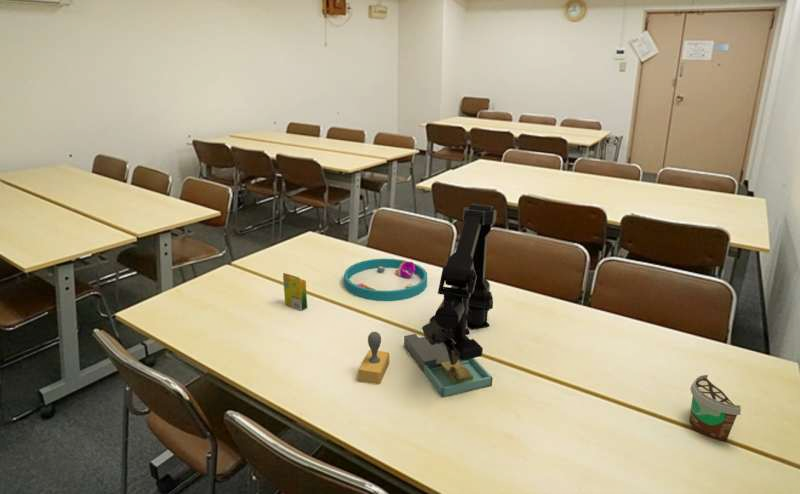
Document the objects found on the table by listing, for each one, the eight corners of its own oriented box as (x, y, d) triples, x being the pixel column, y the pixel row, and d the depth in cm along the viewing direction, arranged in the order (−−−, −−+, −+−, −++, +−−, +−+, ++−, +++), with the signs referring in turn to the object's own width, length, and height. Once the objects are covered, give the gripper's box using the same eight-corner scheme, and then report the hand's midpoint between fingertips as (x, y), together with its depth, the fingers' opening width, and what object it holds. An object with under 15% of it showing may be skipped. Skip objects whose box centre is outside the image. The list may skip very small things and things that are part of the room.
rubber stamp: (380, 385, 133) (380, 343, 129) (358, 381, 134) (357, 340, 130) (389, 363, 142) (390, 324, 138) (369, 360, 144) (368, 321, 139)
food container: (672, 409, 126) (681, 374, 122) (696, 408, 126) (706, 373, 123) (704, 446, 114) (714, 408, 111) (731, 444, 115) (742, 406, 111)
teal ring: (443, 284, 192) (444, 269, 190) (385, 311, 171) (385, 294, 169) (385, 261, 211) (386, 248, 209) (327, 283, 191) (326, 268, 189)
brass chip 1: (457, 365, 141) (457, 359, 140) (464, 374, 137) (464, 367, 137) (440, 369, 139) (440, 363, 138) (447, 377, 136) (447, 371, 135)
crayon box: (307, 307, 172) (306, 275, 168) (301, 311, 169) (299, 278, 165) (291, 302, 175) (289, 269, 171) (284, 305, 173) (282, 272, 169)
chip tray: (470, 363, 143) (471, 355, 142) (491, 385, 134) (492, 377, 133) (423, 373, 138) (424, 365, 137) (442, 397, 129) (442, 389, 128)
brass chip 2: (465, 373, 137) (465, 367, 137) (472, 382, 134) (473, 375, 133) (448, 377, 136) (448, 371, 135) (455, 386, 132) (455, 379, 131)
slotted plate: (447, 338, 155) (448, 327, 154) (470, 363, 143) (471, 351, 142) (403, 346, 150) (404, 335, 149) (423, 373, 138) (424, 361, 137)
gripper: (412, 299, 137) (410, 351, 142) (443, 333, 121) (440, 390, 126) (450, 293, 141) (447, 344, 146) (486, 325, 125) (481, 381, 130)
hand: (453, 364), depth 137 cm, fingers closed
